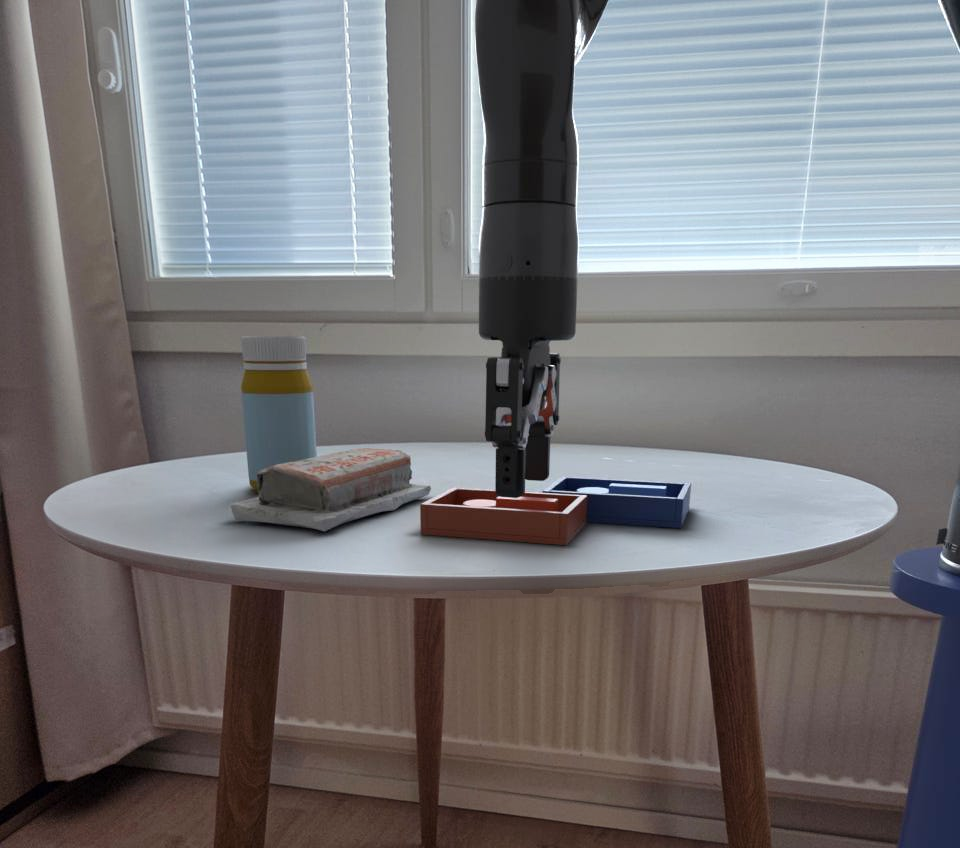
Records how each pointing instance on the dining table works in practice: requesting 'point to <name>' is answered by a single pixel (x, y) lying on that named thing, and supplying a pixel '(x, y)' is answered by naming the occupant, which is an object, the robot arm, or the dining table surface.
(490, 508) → the terracotta tray
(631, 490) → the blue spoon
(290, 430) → the bottle
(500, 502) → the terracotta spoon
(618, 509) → the blue tray
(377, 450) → the packaged product
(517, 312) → the robot arm
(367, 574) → the dining table surface
